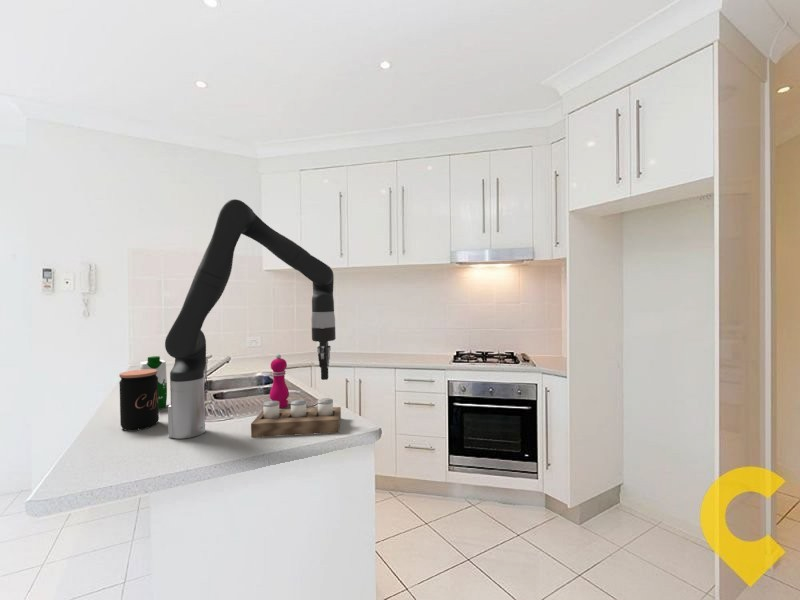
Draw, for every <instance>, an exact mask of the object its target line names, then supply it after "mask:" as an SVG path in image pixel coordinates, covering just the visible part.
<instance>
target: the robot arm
mask: <svg viewBox="0 0 800 600" xmlns="http://www.w3.org/2000/svg"><path fill="white" fill-rule="evenodd" d="M241 235H243V236H246V237H247V238H249V239H252V241H255V242H257V243H258V244H260V245H261V246H263V247H265V248H266V250H269V252H270V253H272V254H273V255H274V256H275V257H276V258H278V259H280V260H281V261H282V262H283V263H285V264H286V265H288V266H289V267H290V268H292V269H294V270H296V271H298V272H300V274H302V275H303V276H304V277H306V279H308V280H309V281H311V282H312V298H311V318H310V319H311V341H312V342H318V343H319V344H318V345H319V346H317V349H316V351H317V359H318V364H319V365H318V366H319V368H320V379H321V380H322V381H324V380H325V381H326V380H328V379H329V367H330V360H331V348H332V347H331V345H329V342H332V341H335V340H336V338H337V337H336V316H335V301H334V279H335V278H334V275H335V274H334V272H333V269H332V268H331V266H329V265H328V264H327V263H325V262H323V261H322V260H320V259H319V258H317V257H315V256H314V255H312V254H310V253H309V252H308V251H307V250H306V249H305V248H303V247H302V246H300V245H299V244H298V243H296V242H295V241H293V240H291V239H290V238H288V237H286V236H284V235H283V234H281V233H280V232H277V231H276V230H275V229H273V228H272V227H271V226H269V225H268V224H267V223H265V222H264V221H263V220H262V219H261V218H260V217H259V216H258V215H257V214H256V213H255V211H254V210H253V209H252V208H251V207H250V206H249V205H248V204H247V203H245V202H244V201H242V200H240V199H230V200H228V201H226V202H225V203H223V205H222V206H221V207H220V209H219V213H218V216H217V219H216V222H215V227H214V230H213V233H212V235H211V238H210V241H209V242H208V246H207V247H206V249H205V252H204V254H203V256H202V259H201V261H200V263H199V265H198V267H197V270H196V272H195V274H194V277H193V279H192V282H191V284H190V286H189V289H188V292H187V294H186V297H185V298H184V299H185V300H184V302H183V305H182V307H181V309H180V311H179V313H178V315H177V317H176V319H175V321H174V322H173V324H172V326H171V328H170V329H169V331H168V333H167V336H166V337H165V341H164V348H165V351H166V352H167V354H168V355H169V356H170V357H172V358H174V363H173V366H172V369H171V370H170V372H169V383H170V385H169V386H170V404H169V405H168V406H167V421H168V422H167V427H168V431H167V432H168V433H167V435H168V438H173V439H179V440H180V439H181V440H182V439H190V438H195V437H198V436H200V435H203V434H204V433H205V432H206V415H205V413H206V412H205V405H206V404H205V377H204V376H205V375H204V373H205V369H206V363H207V340H206V336H205V334H204V332H203V330H202V327H203V325H204V322H205V320H206V318H207V316H208V315H209V314H210V312H211V310H212V309H213V308H214V307H215V305H216V304H217V303H218V301H219V300H220V298H221V297H222V295H223V293H224V292H225V289H226V286H227V285H228V282H229V280H230V276H231V274H232V273H231V272H232V269H233V263H234V262H233V261H234V253H235V249H236V246H237V244H238V241H239V239H240V238H241Z"/></svg>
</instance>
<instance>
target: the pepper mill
mask: <svg viewBox="0 0 800 600" xmlns="http://www.w3.org/2000/svg"><path fill="white" fill-rule="evenodd" d="M287 366H288V364H287V361H286V360H285V359H284V358H282V355H281V354H280V353H279V354H276V356H275V358H274V359H273V360H272V361H271V363H270V369H271V370H272V372H271V373H272V374H271V375H272V377H273V379H272V381H273V382H272V386H271V389H270V391H269V398H270V401H279V409H281V407H283V408H286V407H288V405H289V400H287V399H288V397H290V392H289V388H288V386H287V384H286V381H285V379H286V378H285V375H286V374H287V373H286V368H287Z"/></svg>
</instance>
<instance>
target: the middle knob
mask: <svg viewBox="0 0 800 600" xmlns="http://www.w3.org/2000/svg"><path fill="white" fill-rule="evenodd" d="M290 409H291V418H300V417H306V409H307V400H306V399H294V400H292V401H290Z"/></svg>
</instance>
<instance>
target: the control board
mask: <svg viewBox="0 0 800 600" xmlns="http://www.w3.org/2000/svg"><path fill="white" fill-rule="evenodd" d="M341 409H342V408H341V406H335V407H334V406H333V416H321V417H318V407H315V408H314V407H313V408H309V407H308V408H306V417H300V418H291V408H289V409H279V419H264V410H262V411H261V412H260V413H259V414H258V415H257V416H256V418H255V419H253V421H251V423H250V436H251V438H259V437H261V438H262V436H264V437H277V436H276V435H283V436H296V435H295V434H302V435H315V434H314V433H321V434H336V433H338V432H339V431H340V428H341V426H340V425H341V420H342V413H341V412H342V411H341ZM338 434H339V433H338Z"/></svg>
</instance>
